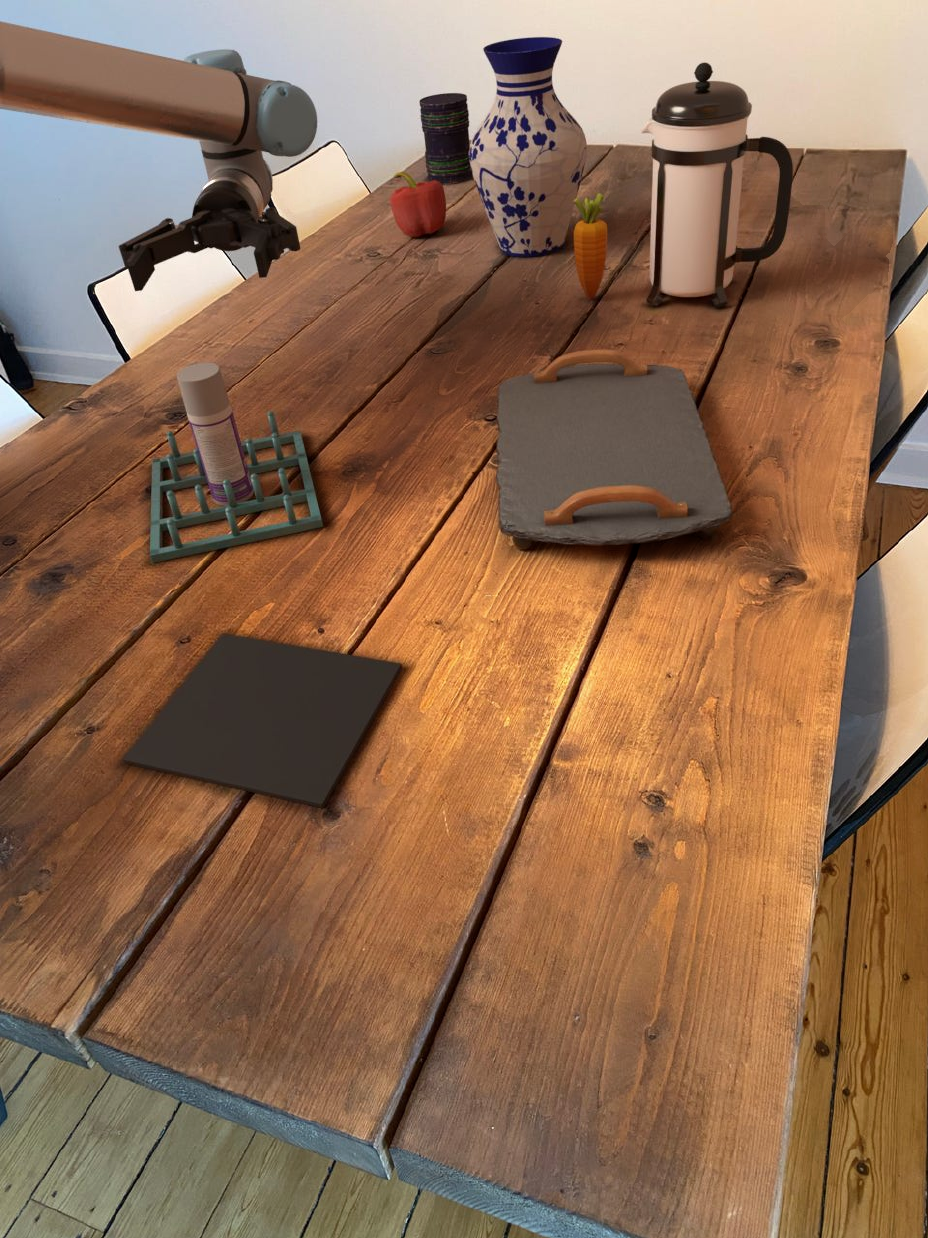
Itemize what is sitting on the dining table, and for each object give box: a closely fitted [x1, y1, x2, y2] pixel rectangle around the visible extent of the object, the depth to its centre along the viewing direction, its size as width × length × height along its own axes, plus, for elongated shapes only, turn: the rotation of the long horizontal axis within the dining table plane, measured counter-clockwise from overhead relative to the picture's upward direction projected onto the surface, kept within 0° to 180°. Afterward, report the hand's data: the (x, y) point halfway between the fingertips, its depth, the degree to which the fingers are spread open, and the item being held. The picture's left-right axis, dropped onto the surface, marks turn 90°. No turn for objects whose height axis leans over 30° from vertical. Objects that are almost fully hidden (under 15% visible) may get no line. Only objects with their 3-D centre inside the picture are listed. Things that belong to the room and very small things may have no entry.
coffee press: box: [640, 62, 794, 309], centre depth 130 cm, size 17×16×30 cm
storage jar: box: [418, 92, 474, 185], centre depth 195 cm, size 10×10×15 cm
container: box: [176, 362, 255, 507], centre depth 103 cm, size 5×5×15 cm
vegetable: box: [390, 171, 447, 238], centre depth 170 cm, size 11×10×10 cm
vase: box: [469, 36, 588, 258], centre depth 153 cm, size 19×19×30 cm
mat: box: [122, 632, 403, 809], centre depth 79 cm, size 18×16×1 cm
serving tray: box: [495, 349, 733, 552], centre depth 104 cm, size 39×23×6 cm, turn 179°
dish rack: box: [149, 410, 324, 564], centre depth 106 cm, size 18×21×4 cm
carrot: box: [573, 192, 608, 301], centre depth 137 cm, size 5×5×15 cm
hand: (197, 271), depth 101 cm, fingers open, 13 cm apart
